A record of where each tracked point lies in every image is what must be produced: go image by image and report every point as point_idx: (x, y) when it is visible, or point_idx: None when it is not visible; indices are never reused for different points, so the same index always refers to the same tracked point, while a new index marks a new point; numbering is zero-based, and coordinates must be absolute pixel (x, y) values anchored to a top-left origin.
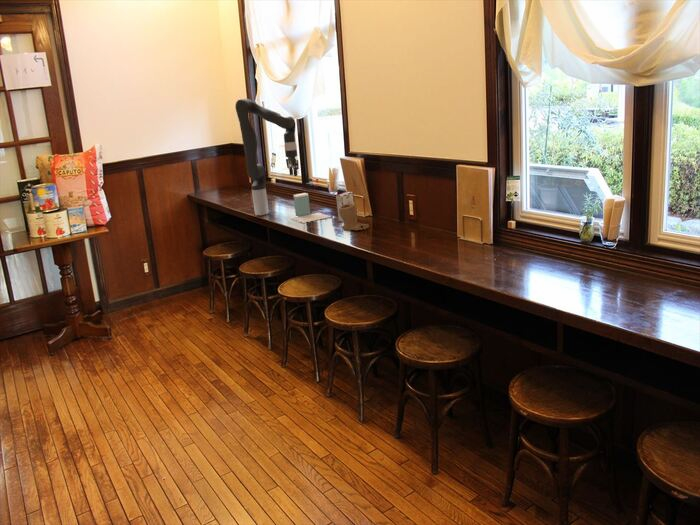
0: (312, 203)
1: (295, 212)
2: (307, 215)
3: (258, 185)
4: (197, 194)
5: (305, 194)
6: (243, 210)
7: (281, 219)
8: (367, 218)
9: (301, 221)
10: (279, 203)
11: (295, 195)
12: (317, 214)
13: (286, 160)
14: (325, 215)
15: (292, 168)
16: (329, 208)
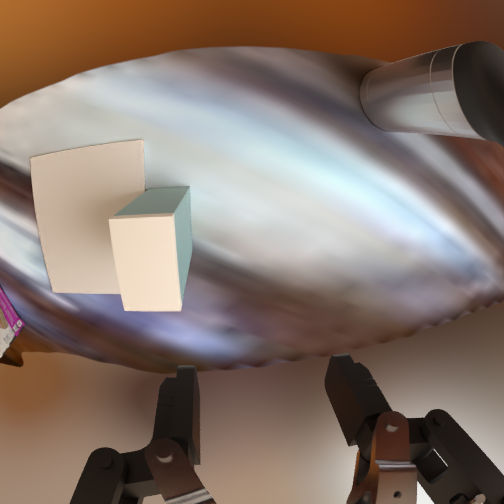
0: (364, 343)
1: (187, 190)
2: None
3: (480, 59)
4: None
5: (120, 290)
6: None
7: (185, 100)
8: None
9: (48, 158)
10: (468, 256)
11: (136, 219)
12: None
13: (499, 497)
14: (81, 286)
15: (357, 452)
16: (218, 357)
